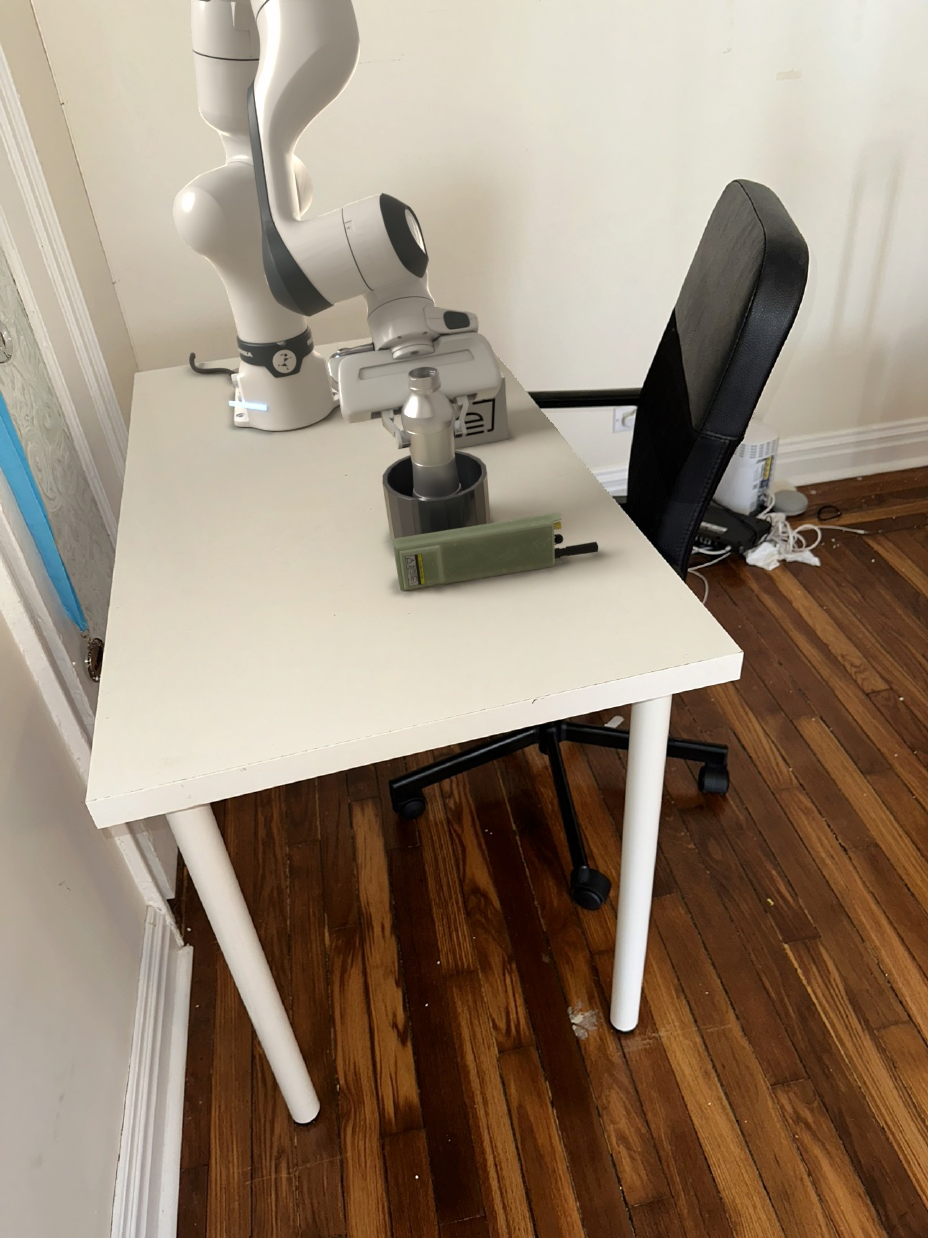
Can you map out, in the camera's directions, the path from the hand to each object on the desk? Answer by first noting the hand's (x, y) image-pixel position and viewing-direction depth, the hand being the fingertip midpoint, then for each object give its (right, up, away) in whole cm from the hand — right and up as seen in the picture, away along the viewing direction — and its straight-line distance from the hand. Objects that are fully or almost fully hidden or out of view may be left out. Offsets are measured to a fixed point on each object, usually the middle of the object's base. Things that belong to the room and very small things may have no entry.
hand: (432, 441), depth 112 cm
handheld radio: (+8, -16, +1) cm, 18 cm away
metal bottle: (+1, -9, +7) cm, 12 cm away
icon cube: (+5, +8, +33) cm, 34 cm away
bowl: (+1, -11, +9) cm, 14 cm away
